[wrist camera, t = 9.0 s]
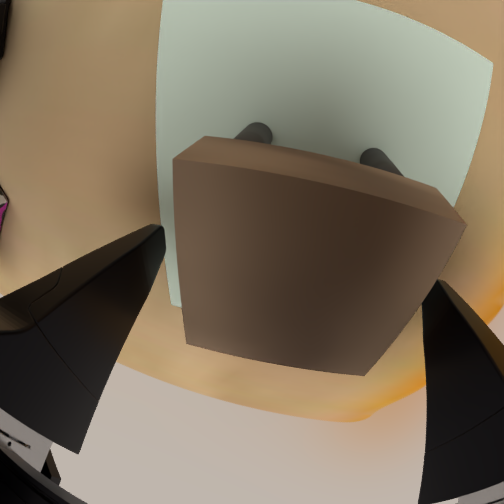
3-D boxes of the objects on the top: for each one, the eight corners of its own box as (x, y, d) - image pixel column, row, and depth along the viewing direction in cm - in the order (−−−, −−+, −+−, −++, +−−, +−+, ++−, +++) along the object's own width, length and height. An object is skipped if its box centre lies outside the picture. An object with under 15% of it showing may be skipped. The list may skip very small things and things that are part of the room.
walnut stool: (227, 245, 14) (186, 343, 9) (238, 113, 10) (172, 159, 5) (353, 270, 13) (363, 375, 9) (397, 148, 9) (467, 224, 5)
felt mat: (174, 298, 18) (171, 304, 18) (170, -6, 7) (164, -9, 7) (374, 336, 17) (375, 343, 17) (486, 62, 6) (493, 63, 6)
